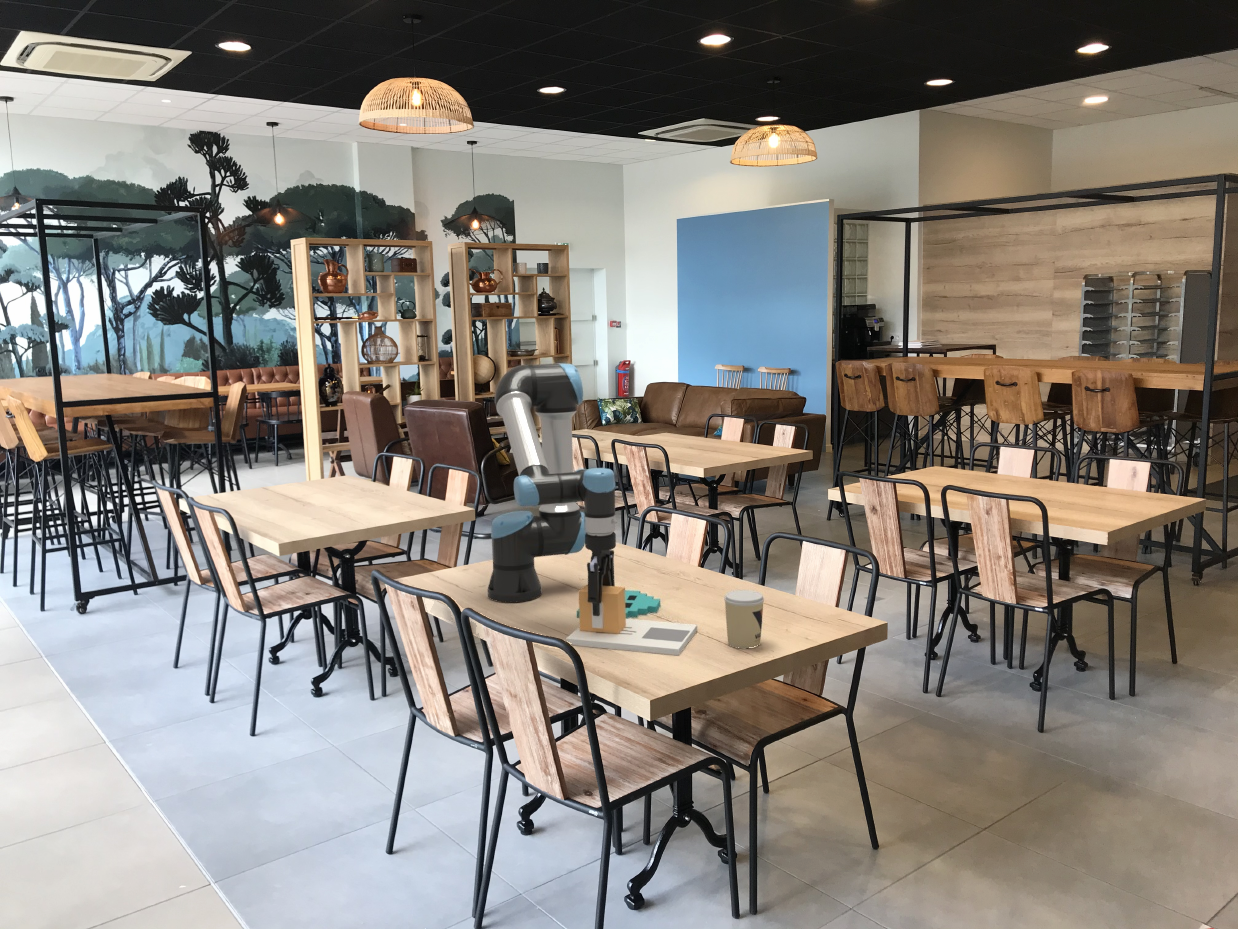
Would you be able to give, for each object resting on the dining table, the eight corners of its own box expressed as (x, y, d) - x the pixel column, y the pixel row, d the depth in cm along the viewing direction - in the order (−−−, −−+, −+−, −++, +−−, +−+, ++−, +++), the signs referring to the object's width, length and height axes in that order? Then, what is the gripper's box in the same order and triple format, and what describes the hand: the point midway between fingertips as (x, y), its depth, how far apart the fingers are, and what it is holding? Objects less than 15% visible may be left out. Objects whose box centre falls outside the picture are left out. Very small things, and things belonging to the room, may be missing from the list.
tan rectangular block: (579, 630, 240) (578, 591, 238) (587, 622, 245) (586, 584, 244) (618, 633, 237) (617, 594, 235) (625, 625, 242) (624, 587, 241)
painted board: (566, 644, 234) (566, 638, 234) (591, 621, 251) (591, 615, 251) (678, 655, 226) (678, 649, 225) (697, 630, 243) (697, 624, 242)
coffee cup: (763, 651, 227) (763, 601, 226) (723, 649, 229) (722, 600, 227) (764, 637, 237) (764, 590, 235) (725, 636, 238) (725, 588, 236)
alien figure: (576, 619, 255) (652, 622, 251) (576, 611, 254) (652, 614, 250) (593, 596, 274) (664, 599, 270) (593, 589, 274) (664, 591, 270)
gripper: (602, 542, 227) (604, 637, 231) (626, 524, 245) (628, 612, 248) (571, 540, 229) (574, 634, 233) (598, 522, 247) (600, 610, 251)
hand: (602, 623), depth 241 cm, fingers closed on tan rectangular block, 6 cm apart
